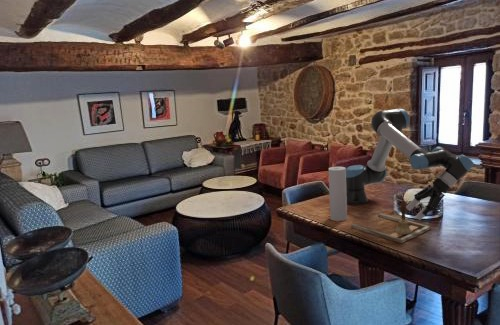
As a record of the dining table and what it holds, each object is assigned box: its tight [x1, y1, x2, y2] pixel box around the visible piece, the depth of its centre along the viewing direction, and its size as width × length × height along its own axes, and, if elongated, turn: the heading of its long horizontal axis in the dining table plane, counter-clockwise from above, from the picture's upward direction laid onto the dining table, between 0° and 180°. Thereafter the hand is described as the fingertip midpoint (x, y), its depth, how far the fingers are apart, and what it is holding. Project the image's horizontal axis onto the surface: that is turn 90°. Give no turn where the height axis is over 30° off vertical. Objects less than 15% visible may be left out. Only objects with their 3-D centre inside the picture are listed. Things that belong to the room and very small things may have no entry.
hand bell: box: [394, 200, 414, 235], centre depth 183 cm, size 8×8×16 cm
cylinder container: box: [328, 166, 348, 222], centre depth 208 cm, size 9×9×30 cm
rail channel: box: [350, 212, 431, 244], centre depth 191 cm, size 24×30×2 cm
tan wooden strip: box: [390, 225, 419, 238], centre depth 184 cm, size 21×4×1 cm, turn 124°
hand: (412, 213), depth 181 cm, fingers open, 13 cm apart
